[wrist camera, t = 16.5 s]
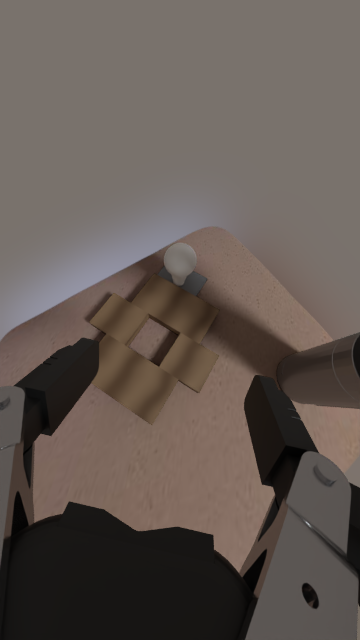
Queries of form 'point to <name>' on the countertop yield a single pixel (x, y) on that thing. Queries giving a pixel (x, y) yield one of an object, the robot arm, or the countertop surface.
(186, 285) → the slate mat
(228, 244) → the countertop surface
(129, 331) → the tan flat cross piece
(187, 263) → the lightbulb
